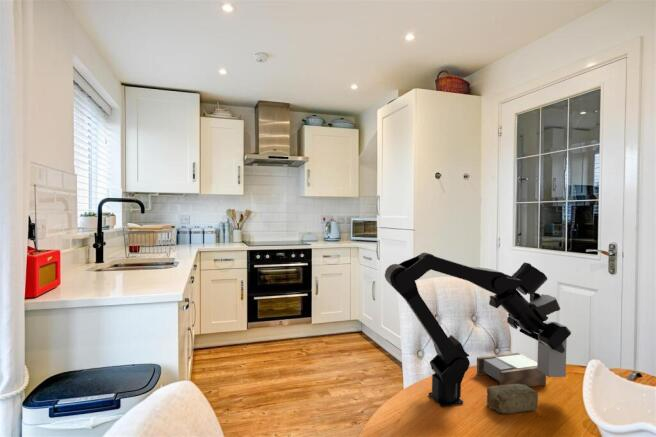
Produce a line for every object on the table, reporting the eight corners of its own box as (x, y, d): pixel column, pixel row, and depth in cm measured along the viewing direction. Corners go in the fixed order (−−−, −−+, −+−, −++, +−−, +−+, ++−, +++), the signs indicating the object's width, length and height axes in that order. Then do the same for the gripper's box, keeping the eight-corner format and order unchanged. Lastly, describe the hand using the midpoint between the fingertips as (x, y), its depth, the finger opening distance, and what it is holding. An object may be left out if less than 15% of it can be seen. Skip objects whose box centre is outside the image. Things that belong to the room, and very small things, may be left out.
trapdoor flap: (501, 383, 101) (502, 369, 101) (482, 370, 108) (482, 358, 108) (542, 377, 104) (542, 364, 104) (520, 365, 112) (520, 354, 112)
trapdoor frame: (502, 390, 99) (502, 372, 99) (476, 373, 109) (476, 357, 109) (545, 384, 103) (546, 366, 103) (517, 368, 113) (517, 352, 113)
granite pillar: (548, 377, 93) (549, 327, 93) (537, 369, 98) (538, 321, 98) (565, 376, 94) (566, 327, 93) (553, 369, 98) (554, 321, 98)
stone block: (539, 411, 89) (540, 391, 89) (499, 417, 87) (499, 396, 87) (522, 399, 95) (522, 380, 95) (483, 404, 92) (484, 385, 92)
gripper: (564, 293, 86) (607, 339, 87) (518, 278, 104) (553, 316, 105) (531, 326, 85) (574, 372, 86) (491, 306, 104) (527, 343, 105)
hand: (556, 348), depth 96 cm, fingers closed on granite pillar, 5 cm apart
